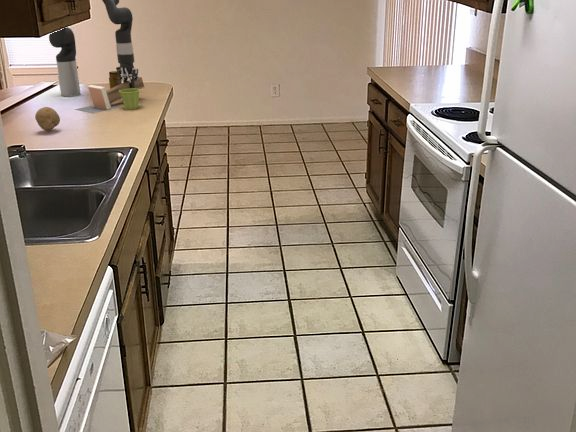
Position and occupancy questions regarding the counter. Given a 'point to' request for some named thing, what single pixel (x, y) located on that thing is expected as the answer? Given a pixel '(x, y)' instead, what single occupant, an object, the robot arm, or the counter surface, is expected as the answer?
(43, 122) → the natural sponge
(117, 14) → the robot arm
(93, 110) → the mat
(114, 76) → the condiment
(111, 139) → the counter surface
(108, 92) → the push bar
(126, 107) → the plant pot
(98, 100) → the tile
